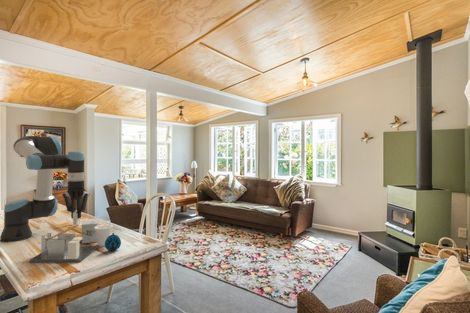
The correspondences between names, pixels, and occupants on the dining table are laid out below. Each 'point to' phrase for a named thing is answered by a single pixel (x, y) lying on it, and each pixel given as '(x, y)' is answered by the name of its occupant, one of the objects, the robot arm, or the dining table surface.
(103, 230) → the cup
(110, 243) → the ornament
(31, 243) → the dining table surface
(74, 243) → the block
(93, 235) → the ink box
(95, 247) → the base
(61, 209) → the dining table surface
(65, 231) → the strap
